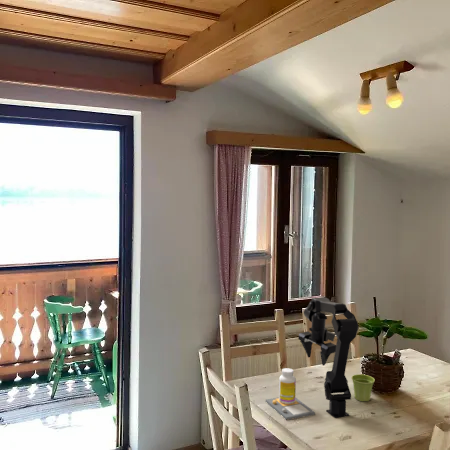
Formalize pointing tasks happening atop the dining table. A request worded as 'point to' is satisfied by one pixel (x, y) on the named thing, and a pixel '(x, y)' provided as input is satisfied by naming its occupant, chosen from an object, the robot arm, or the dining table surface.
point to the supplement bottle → (287, 386)
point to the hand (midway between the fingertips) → (316, 361)
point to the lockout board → (290, 408)
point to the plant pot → (362, 386)
